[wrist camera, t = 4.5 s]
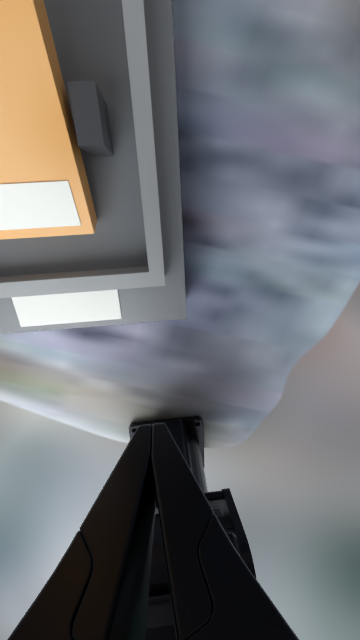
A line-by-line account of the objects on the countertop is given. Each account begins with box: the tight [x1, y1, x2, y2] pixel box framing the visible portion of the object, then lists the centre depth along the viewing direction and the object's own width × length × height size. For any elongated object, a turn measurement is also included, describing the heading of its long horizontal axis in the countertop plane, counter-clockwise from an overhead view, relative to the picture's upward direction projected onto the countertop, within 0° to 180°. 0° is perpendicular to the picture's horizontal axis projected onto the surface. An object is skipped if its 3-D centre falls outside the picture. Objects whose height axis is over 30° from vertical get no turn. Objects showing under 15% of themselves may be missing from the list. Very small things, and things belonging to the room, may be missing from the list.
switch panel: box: [0, 0, 187, 334], centre depth 13 cm, size 20×14×6 cm
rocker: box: [0, 0, 97, 240], centre depth 10 cm, size 9×5×2 cm, turn 4°
